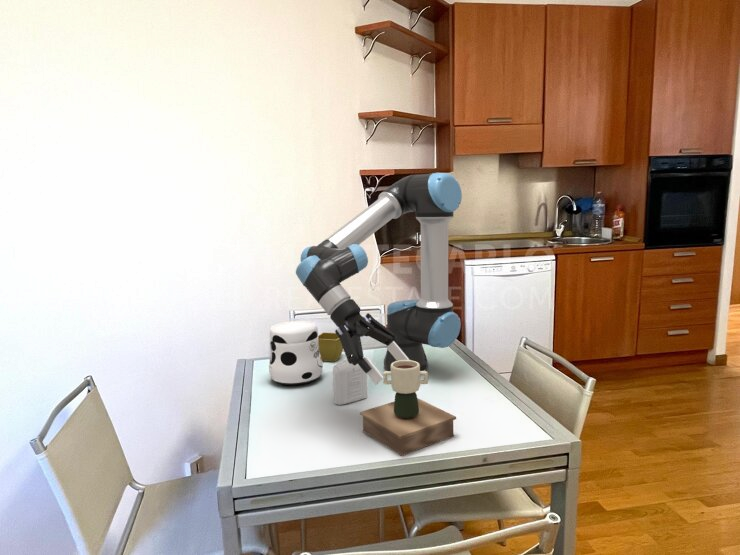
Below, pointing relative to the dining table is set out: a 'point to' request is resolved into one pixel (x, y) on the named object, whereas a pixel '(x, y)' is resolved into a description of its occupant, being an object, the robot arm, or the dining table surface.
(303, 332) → the milk container
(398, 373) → the character mug
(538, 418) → the dining table surface
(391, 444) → the walnut stand
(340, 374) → the photo printer
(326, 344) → the flower pot
